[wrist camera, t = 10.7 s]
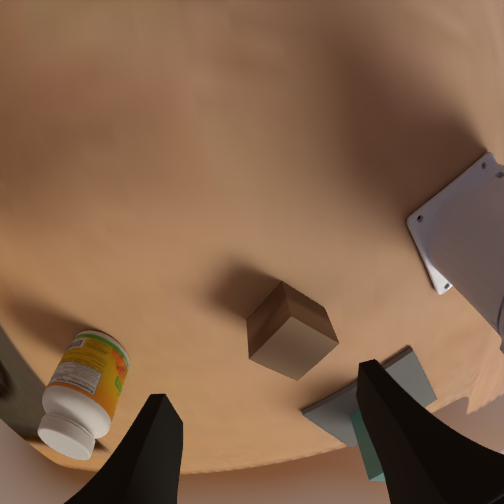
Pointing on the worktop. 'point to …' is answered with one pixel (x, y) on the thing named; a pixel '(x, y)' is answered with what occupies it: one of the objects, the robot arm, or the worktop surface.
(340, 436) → the slate mat
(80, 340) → the supplement bottle
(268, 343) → the walnut block
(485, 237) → the robot arm
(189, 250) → the worktop surface
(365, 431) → the teal block
